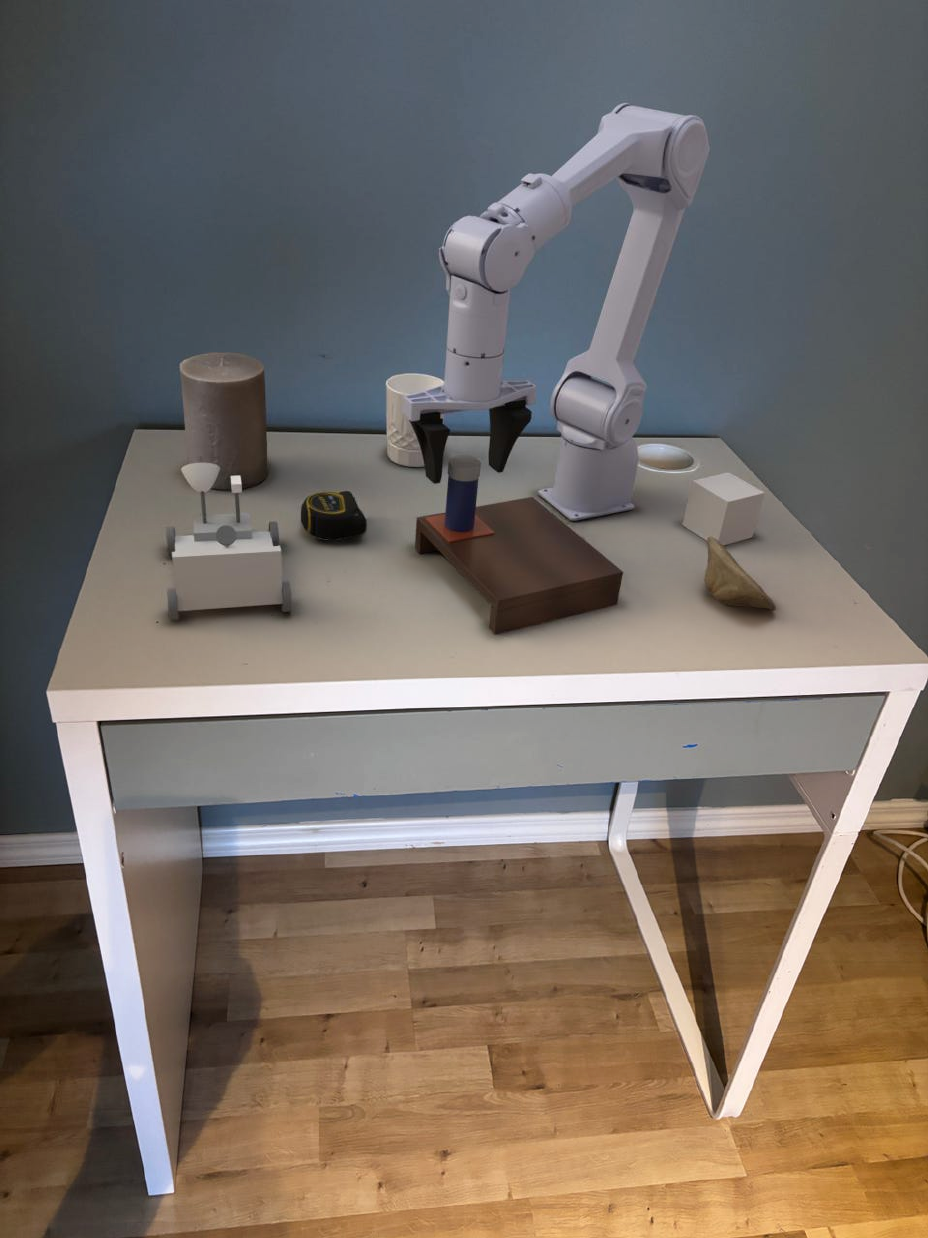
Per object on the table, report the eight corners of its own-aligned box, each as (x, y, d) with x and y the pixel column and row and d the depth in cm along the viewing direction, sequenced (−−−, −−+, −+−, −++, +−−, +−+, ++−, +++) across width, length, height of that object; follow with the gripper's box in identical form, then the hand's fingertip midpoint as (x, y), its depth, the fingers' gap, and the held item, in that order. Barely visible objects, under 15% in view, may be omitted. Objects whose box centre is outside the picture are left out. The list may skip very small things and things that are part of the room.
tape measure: (367, 543, 110) (368, 514, 108) (306, 549, 108) (306, 518, 106) (354, 515, 115) (355, 486, 113) (296, 519, 113) (295, 490, 111)
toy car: (159, 452, 103) (271, 448, 106) (168, 534, 108) (274, 529, 111) (160, 536, 89) (290, 529, 91) (170, 626, 94) (292, 617, 97)
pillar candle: (272, 458, 126) (269, 343, 118) (262, 493, 118) (258, 372, 110) (195, 454, 126) (186, 338, 117) (180, 488, 118) (169, 366, 109)
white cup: (389, 441, 134) (392, 370, 128) (447, 448, 133) (452, 377, 128) (377, 465, 127) (380, 391, 122) (437, 473, 127) (442, 399, 121)
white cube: (682, 525, 120) (692, 480, 117) (717, 515, 123) (728, 471, 120) (716, 547, 116) (728, 501, 113) (752, 537, 119) (764, 492, 116)
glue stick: (465, 515, 109) (471, 452, 105) (480, 529, 106) (486, 465, 102) (438, 520, 107) (442, 457, 103) (452, 534, 105) (458, 470, 101)
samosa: (764, 585, 98) (702, 522, 104) (731, 614, 99) (671, 551, 104) (786, 612, 105) (727, 552, 111) (755, 639, 106) (698, 579, 112)
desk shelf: (528, 526, 117) (532, 494, 114) (617, 604, 104) (624, 570, 101) (414, 548, 110) (416, 515, 108) (494, 634, 97) (498, 598, 95)
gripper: (517, 329, 103) (504, 449, 110) (391, 341, 97) (386, 468, 104) (553, 351, 98) (537, 475, 105) (423, 366, 92) (416, 497, 99)
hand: (464, 473), depth 104 cm, fingers open, 7 cm apart
